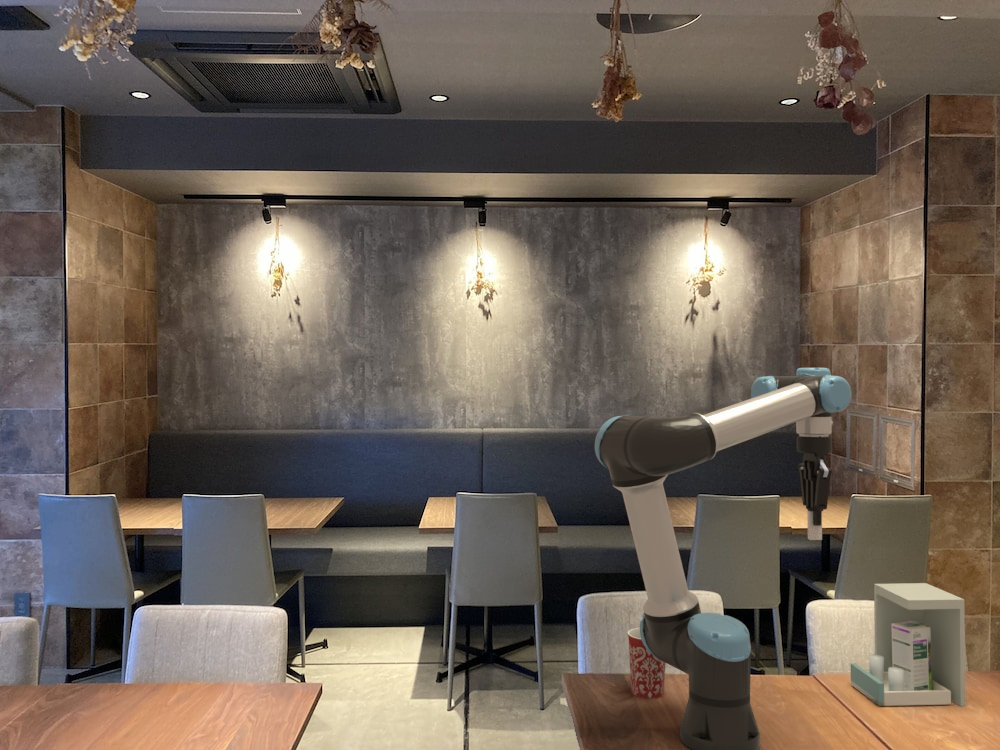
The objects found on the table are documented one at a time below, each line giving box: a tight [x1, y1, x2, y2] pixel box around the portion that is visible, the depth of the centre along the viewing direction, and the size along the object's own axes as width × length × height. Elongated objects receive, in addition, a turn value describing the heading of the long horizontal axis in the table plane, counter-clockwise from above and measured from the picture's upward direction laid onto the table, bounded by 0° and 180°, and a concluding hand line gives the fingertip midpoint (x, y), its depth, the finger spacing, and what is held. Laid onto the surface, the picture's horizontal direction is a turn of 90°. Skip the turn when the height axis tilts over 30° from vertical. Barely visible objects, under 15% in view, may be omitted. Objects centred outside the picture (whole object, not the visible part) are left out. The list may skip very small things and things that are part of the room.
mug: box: [627, 627, 666, 699], centre depth 192 cm, size 13×9×14 cm
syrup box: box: [892, 621, 932, 691], centre depth 189 cm, size 6×6×14 cm
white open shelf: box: [873, 582, 966, 707], centre depth 189 cm, size 12×15×23 cm
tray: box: [850, 654, 952, 707], centre depth 188 cm, size 16×13×7 cm
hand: (814, 539), depth 191 cm, fingers closed
